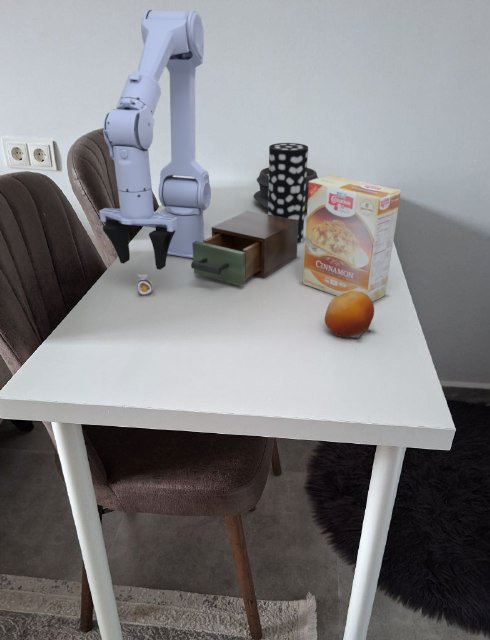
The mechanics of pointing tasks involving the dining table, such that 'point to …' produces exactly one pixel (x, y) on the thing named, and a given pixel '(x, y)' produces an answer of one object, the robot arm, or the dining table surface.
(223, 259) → the drawer
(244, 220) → the cabinet
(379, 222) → the coffeecake box
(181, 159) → the robot arm
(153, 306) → the dining table surface
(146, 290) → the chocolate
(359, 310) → the fruit
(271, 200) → the spotted tube
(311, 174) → the casserole
